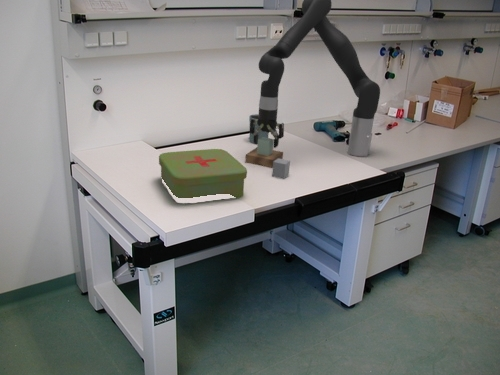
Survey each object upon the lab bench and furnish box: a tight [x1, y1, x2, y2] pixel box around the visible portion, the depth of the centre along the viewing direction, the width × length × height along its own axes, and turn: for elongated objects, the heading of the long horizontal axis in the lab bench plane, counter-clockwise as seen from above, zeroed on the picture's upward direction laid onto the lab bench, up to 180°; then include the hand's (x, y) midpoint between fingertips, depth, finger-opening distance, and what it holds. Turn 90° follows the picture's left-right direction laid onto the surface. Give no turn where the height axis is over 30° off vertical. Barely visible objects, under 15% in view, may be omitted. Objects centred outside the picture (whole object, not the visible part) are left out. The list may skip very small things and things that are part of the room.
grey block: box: [271, 158, 291, 180], centre depth 190 cm, size 5×5×6 cm
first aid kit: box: [158, 148, 248, 199], centre depth 173 cm, size 26×26×10 cm
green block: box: [256, 137, 275, 156], centre depth 203 cm, size 5×5×6 cm
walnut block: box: [245, 147, 284, 169], centre depth 205 cm, size 12×12×4 cm
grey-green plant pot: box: [248, 113, 270, 145], centre depth 228 cm, size 10×10×12 cm
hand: (265, 145), depth 203 cm, fingers open, 8 cm apart
